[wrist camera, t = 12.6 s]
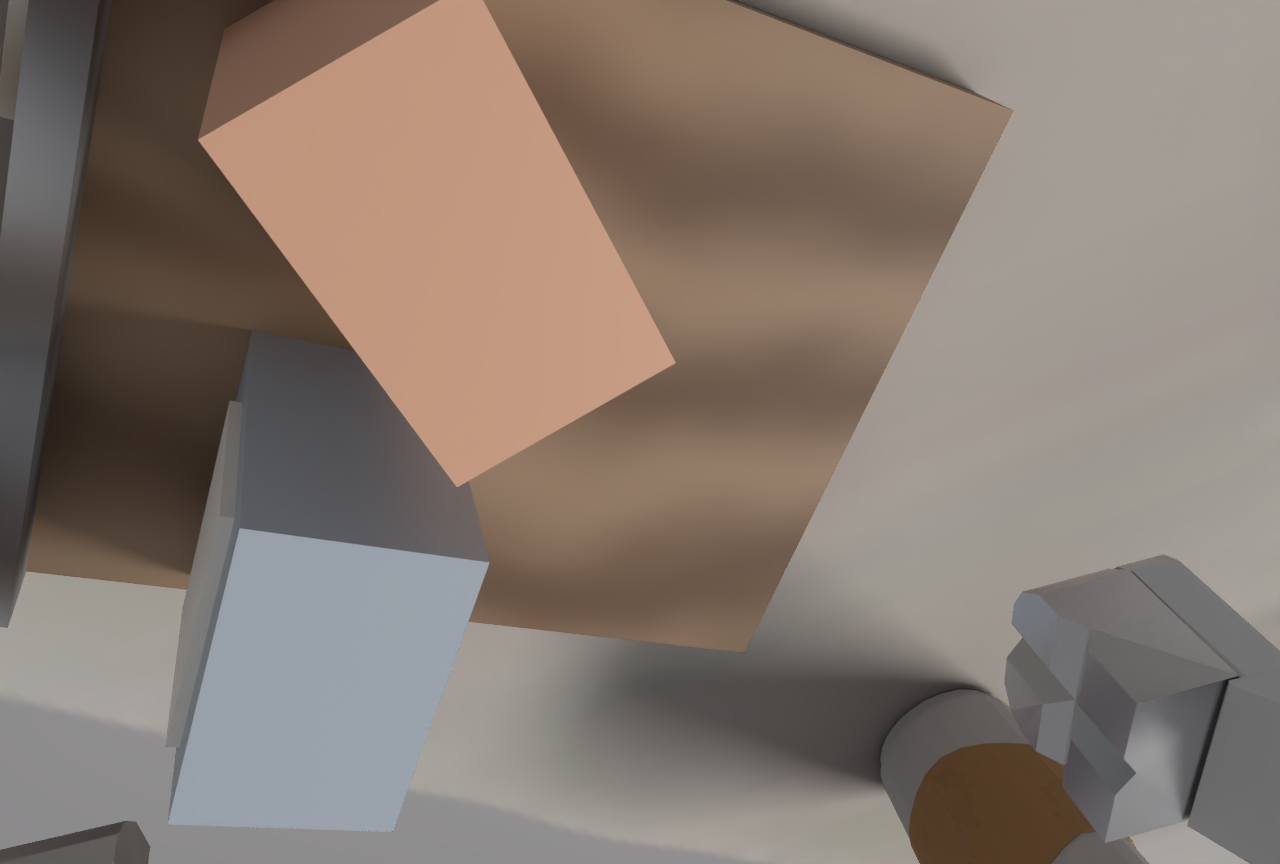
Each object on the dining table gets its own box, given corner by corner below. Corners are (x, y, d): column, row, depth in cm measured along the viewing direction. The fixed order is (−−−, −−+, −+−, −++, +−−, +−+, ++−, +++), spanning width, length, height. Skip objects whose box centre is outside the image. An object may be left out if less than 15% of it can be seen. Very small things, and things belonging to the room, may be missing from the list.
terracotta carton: (416, -83, 25) (472, -20, 17) (576, 212, 29) (676, 362, 22) (213, 35, 25) (180, 149, 17) (403, 311, 29) (443, 494, 22)
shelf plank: (73, -255, 23) (33, -260, 19) (976, 93, 33) (1062, 133, 29) (-24, 521, 31) (-65, 621, 27) (725, 617, 41) (768, 699, 37)
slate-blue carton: (440, 368, 30) (489, 562, 23) (369, 597, 34) (392, 831, 26) (240, 327, 28) (222, 525, 21) (184, 574, 32) (152, 823, 24)
